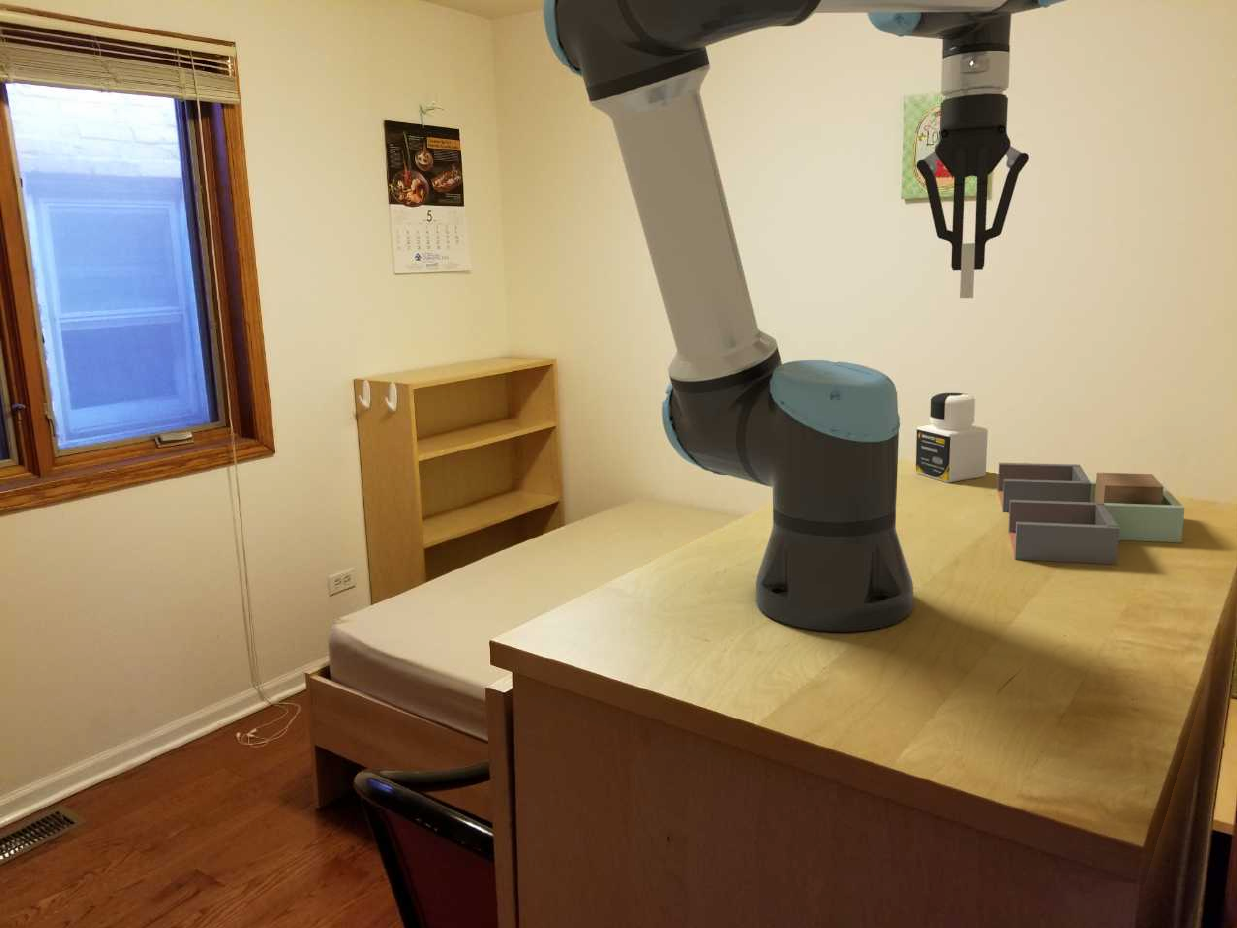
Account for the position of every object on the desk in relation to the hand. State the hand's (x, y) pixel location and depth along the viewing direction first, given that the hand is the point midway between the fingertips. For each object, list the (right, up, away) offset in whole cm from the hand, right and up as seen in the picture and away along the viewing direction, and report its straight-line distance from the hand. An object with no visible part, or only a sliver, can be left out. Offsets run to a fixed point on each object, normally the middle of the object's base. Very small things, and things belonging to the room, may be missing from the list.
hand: (966, 297), depth 120 cm
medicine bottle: (+6, -22, +22) cm, 32 cm away
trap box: (+13, -28, -4) cm, 31 cm away
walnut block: (+17, -28, -5) cm, 33 cm away
